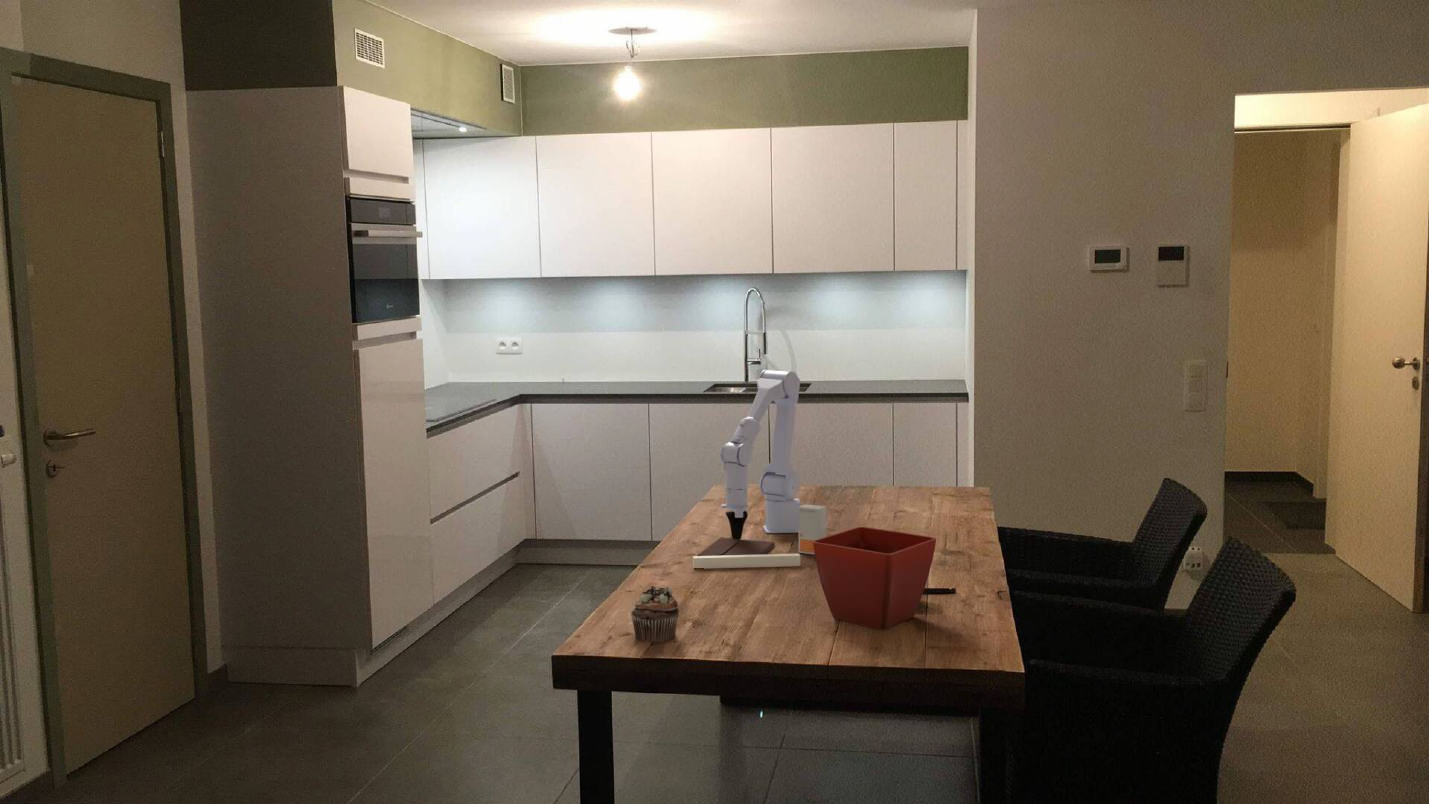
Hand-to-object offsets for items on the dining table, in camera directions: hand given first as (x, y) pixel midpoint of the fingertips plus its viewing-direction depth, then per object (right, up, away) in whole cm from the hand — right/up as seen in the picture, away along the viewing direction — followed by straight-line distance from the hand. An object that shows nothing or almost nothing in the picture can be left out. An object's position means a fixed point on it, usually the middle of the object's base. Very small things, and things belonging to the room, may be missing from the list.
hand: (736, 539), depth 328 cm
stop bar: (+2, -4, -24) cm, 25 cm away
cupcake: (-18, -11, -79) cm, 81 cm away
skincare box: (+19, -3, -11) cm, 22 cm away
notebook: (0, -3, -11) cm, 11 cm away
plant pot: (+27, -9, -67) cm, 73 cm away
